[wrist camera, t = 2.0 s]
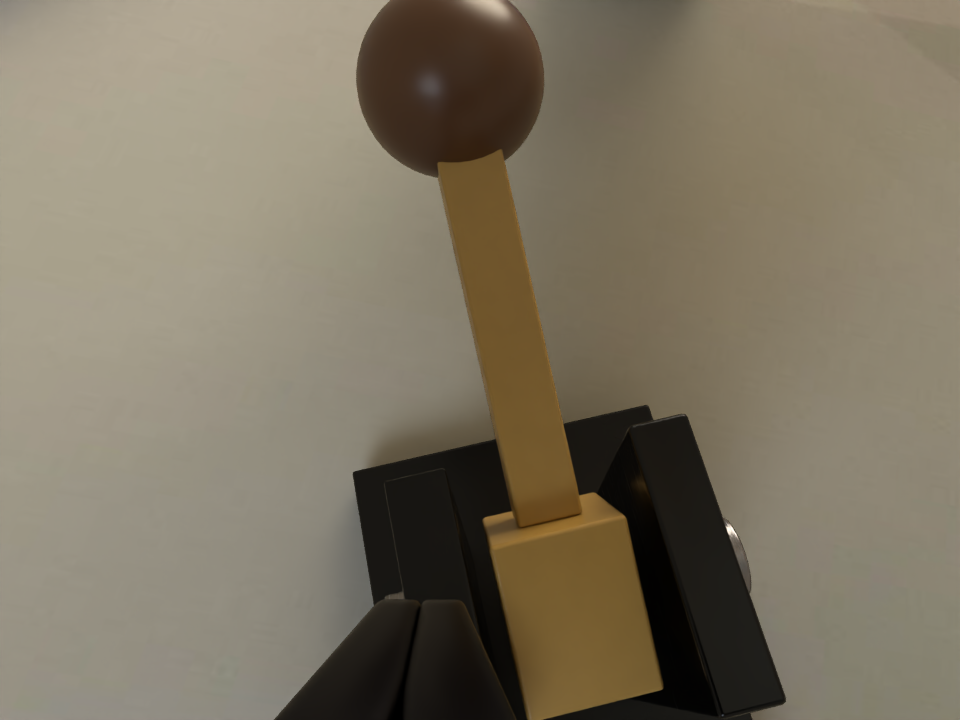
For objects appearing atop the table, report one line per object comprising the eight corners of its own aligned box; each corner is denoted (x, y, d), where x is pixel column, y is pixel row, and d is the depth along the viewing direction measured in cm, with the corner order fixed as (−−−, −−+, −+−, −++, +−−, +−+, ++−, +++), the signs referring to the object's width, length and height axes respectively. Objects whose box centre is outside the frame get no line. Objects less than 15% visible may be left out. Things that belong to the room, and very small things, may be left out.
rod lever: (350, 50, 14) (323, -42, 11) (512, 17, 15) (532, -82, 11) (486, 663, 14) (498, 745, 11) (648, 623, 15) (705, 693, 11)
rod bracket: (359, 481, 22) (254, 346, 13) (641, 417, 22) (730, 242, 13) (425, 880, 18) (341, 1088, 9) (764, 794, 19) (1005, 908, 10)
